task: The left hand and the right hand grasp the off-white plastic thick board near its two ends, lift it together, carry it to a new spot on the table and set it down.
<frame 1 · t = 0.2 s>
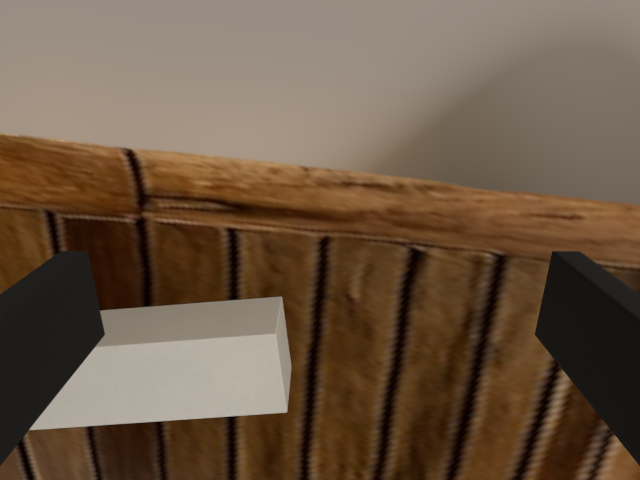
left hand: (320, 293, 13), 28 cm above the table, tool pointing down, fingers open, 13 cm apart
thick board: (42, 351, 47), on the table
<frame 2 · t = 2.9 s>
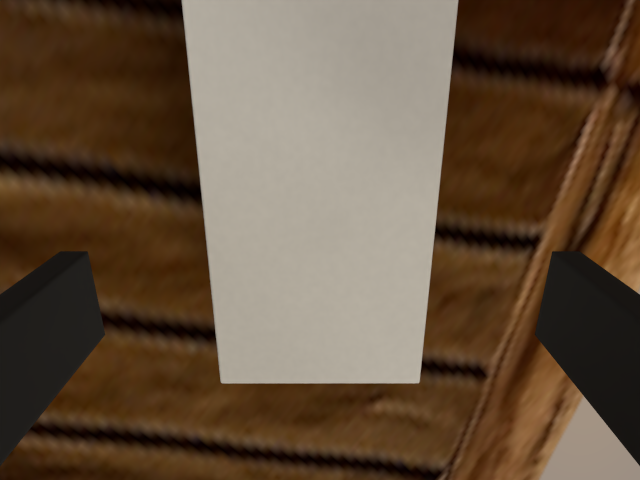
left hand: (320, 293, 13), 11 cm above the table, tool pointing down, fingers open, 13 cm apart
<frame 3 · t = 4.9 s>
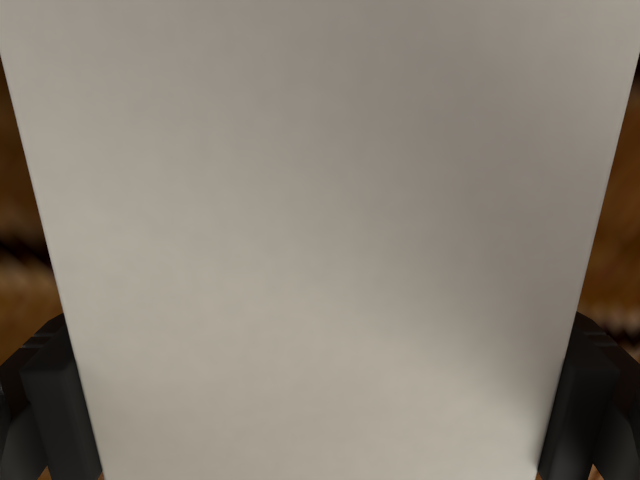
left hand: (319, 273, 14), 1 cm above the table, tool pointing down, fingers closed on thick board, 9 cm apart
when the right hand's fingers open (2 cm above the table, at t = 9.8 s): thick board stays where it is, on the table.
when the left hand's fingers open (2 cm above the table, at t = 9.9 s): thick board stays where it is, on the table.
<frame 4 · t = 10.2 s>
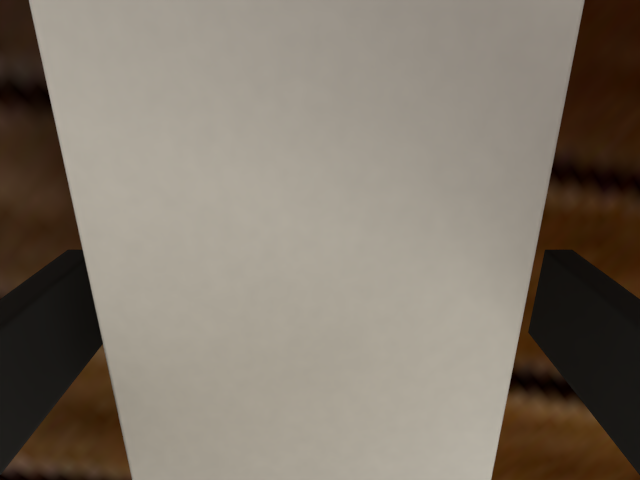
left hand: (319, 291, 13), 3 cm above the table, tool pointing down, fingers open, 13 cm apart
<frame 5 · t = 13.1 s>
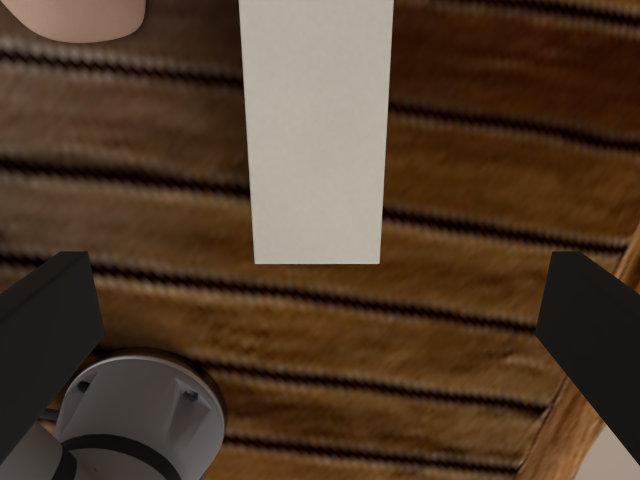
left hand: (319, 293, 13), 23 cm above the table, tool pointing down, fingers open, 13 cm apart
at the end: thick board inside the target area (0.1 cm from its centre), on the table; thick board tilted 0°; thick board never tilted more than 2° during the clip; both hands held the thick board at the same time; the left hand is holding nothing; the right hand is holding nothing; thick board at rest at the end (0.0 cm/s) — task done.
